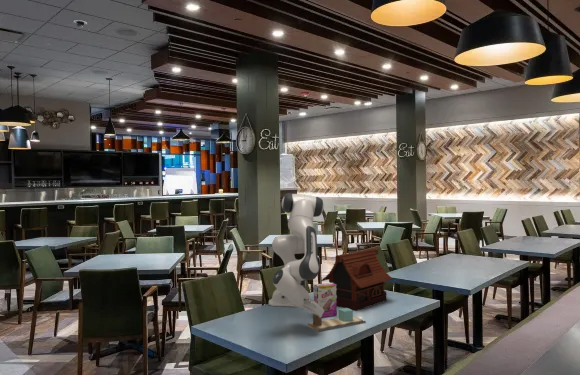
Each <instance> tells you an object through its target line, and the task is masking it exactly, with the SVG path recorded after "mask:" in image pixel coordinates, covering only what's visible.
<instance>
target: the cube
mask: <svg viewBox="0 0 580 375" xmlns="http://www.w3.org/2000/svg"><path fill="white" fill-rule="evenodd" d="M337 313H338V314H337V315H338V318H339V320H341V321H343V322H347V321H353V316H354V312H353V310H351V309H349V308H342V307H341V308H338V310H337Z"/></svg>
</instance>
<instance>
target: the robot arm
mask: <svg viewBox="0 0 580 375" xmlns="http://www.w3.org/2000/svg"><path fill="white" fill-rule="evenodd" d="M281 208H282V210H283V212H285V213H287V214H289V216H288V221H287V222H288V223H287V226H288V229H289V231H290V232H291V234H283V235H278V236H276V237H274V239H273V240H272V242H271V243H272V244H271V246H272V250H273V251H274V253H275V254H276V255H277V256H279V258H280V259H281V260H282V261H283V265H284V267H282V268H281V269H277V270H276V271H275V273H274V274H273V276H272V283H273V286H274V287H275V290H274V291H273V292H272V298H270V299H269V300H268V305H269V306H271V307H292V308H294V307H296V308H301V309H303V310H305V311H307V312H309V313H311V314H312V315H313V314H315V315H317V316H318V317H320V318H321V317H322V314H323V312H324V309H323V308H322V307H320V306H319V305H318V304H317V303H316V302H315V301H314V299H311V298H310V293H309V291H307V290H306V285H307V284H306V282H307V281H312V280H315V279H316V278H317V277H318V275H319V274H320V264H319V260H318V257H319V256H318V238H317V237H318V236H317V232H316V229H315V228H314V225H313V224H314V218H315V217H320V216H321V215H322V213H323V211H324V208H325V204H324V201H323V199H322V198H321V197H318V196H312V195H309V194H301V193H292V192H291V193H290V192H288V193H286V194H284V196H283V197H282V200H281ZM296 254H297V255H299V254H304V256H303V257H302V258H301V259H297V258H296V256H295V255H296Z"/></svg>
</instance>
